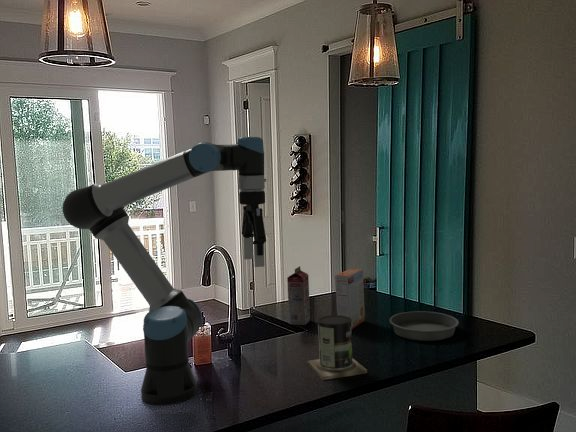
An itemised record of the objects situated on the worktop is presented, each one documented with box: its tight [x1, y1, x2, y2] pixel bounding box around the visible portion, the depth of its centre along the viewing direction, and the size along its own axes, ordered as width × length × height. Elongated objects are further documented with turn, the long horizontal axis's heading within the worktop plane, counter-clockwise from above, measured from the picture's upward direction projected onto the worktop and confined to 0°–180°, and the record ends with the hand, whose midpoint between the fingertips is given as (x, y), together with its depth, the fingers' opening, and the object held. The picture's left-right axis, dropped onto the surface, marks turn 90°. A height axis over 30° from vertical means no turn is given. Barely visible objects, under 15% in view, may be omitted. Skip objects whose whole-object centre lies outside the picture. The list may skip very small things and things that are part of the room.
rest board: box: [307, 357, 368, 381], centre depth 167 cm, size 14×14×1 cm
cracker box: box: [334, 268, 366, 331], centre depth 210 cm, size 14×6×21 cm, turn 149°
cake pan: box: [389, 310, 460, 342], centre depth 200 cm, size 25×25×4 cm
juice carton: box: [286, 266, 311, 326], centre depth 217 cm, size 7×7×22 cm
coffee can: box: [316, 314, 353, 371], centre depth 166 cm, size 10×10×14 cm
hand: (253, 262), depth 161 cm, fingers open, 13 cm apart
